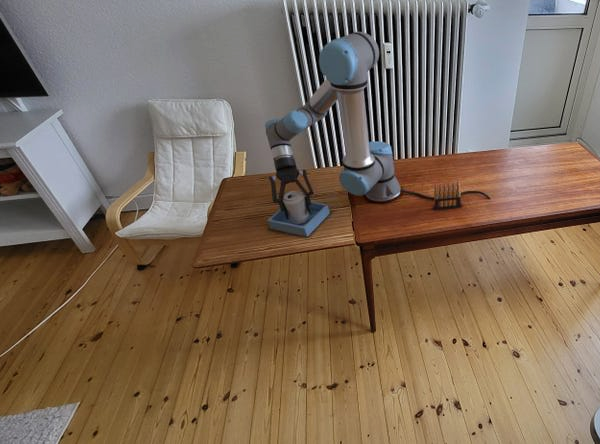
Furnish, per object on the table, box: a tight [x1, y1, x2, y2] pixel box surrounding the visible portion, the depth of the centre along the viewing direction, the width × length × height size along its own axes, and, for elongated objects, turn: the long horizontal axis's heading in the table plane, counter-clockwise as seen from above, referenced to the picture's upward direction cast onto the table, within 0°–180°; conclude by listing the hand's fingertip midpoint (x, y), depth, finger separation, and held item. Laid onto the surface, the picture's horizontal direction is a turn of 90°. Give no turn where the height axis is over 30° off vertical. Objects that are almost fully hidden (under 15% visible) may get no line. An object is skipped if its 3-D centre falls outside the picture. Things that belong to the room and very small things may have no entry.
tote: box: [267, 201, 331, 238], centre depth 146 cm, size 17×16×4 cm
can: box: [283, 190, 310, 225], centre depth 143 cm, size 8×8×12 cm
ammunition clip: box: [433, 181, 462, 211], centre depth 148 cm, size 11×2×12 cm, turn 98°
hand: (298, 216), depth 142 cm, fingers closed on can, 7 cm apart
